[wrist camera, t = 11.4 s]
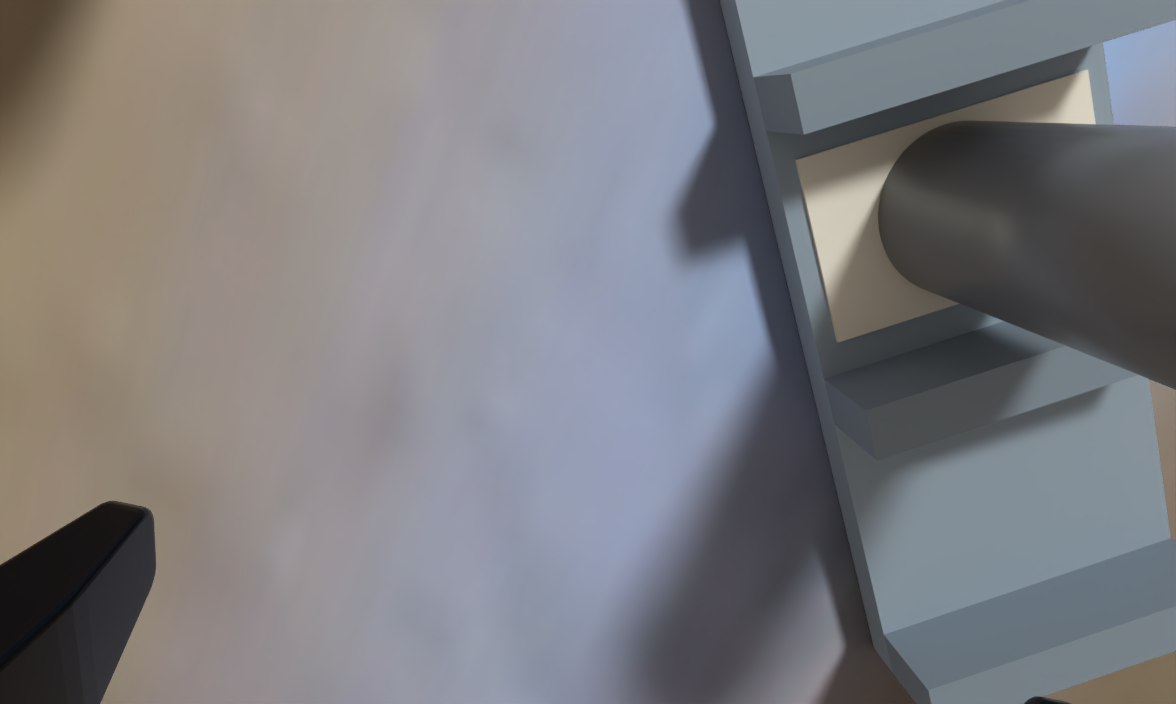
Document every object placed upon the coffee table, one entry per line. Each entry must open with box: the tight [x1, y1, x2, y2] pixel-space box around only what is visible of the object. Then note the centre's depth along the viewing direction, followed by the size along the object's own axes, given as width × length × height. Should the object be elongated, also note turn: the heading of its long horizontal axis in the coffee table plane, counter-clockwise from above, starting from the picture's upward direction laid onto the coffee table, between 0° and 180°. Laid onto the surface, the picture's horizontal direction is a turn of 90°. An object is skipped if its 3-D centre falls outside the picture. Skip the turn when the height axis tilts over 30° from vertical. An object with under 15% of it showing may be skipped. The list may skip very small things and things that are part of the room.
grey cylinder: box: [878, 120, 1176, 389], centre depth 16 cm, size 4×4×13 cm
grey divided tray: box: [720, 0, 1176, 704], centre depth 22 cm, size 8×23×4 cm, turn 16°
